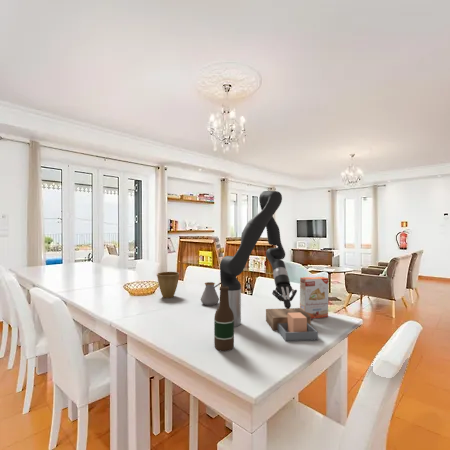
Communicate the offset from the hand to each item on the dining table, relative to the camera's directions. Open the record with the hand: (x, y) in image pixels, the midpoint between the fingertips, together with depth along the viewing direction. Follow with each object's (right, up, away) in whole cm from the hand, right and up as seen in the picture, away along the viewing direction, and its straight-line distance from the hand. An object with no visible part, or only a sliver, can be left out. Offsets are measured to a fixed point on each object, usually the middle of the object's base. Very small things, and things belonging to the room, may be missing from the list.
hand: (288, 307), depth 138 cm
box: (+1, -8, -12) cm, 15 cm away
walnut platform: (0, -9, +1) cm, 9 cm away
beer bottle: (-31, -9, -25) cm, 41 cm away
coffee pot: (-36, -9, +42) cm, 56 cm away
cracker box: (+17, -9, +14) cm, 23 cm away
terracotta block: (+1, -4, -7) cm, 8 cm away
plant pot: (-70, -9, +57) cm, 90 cm away
